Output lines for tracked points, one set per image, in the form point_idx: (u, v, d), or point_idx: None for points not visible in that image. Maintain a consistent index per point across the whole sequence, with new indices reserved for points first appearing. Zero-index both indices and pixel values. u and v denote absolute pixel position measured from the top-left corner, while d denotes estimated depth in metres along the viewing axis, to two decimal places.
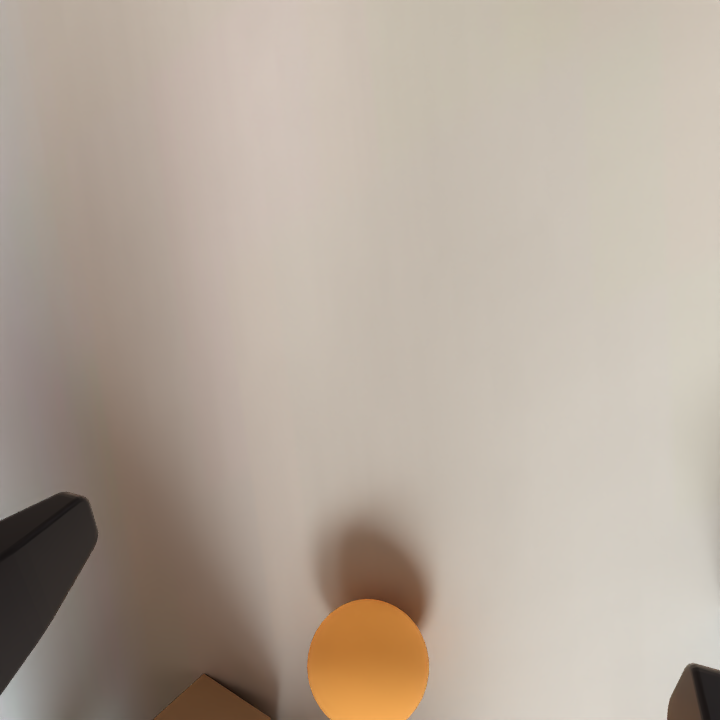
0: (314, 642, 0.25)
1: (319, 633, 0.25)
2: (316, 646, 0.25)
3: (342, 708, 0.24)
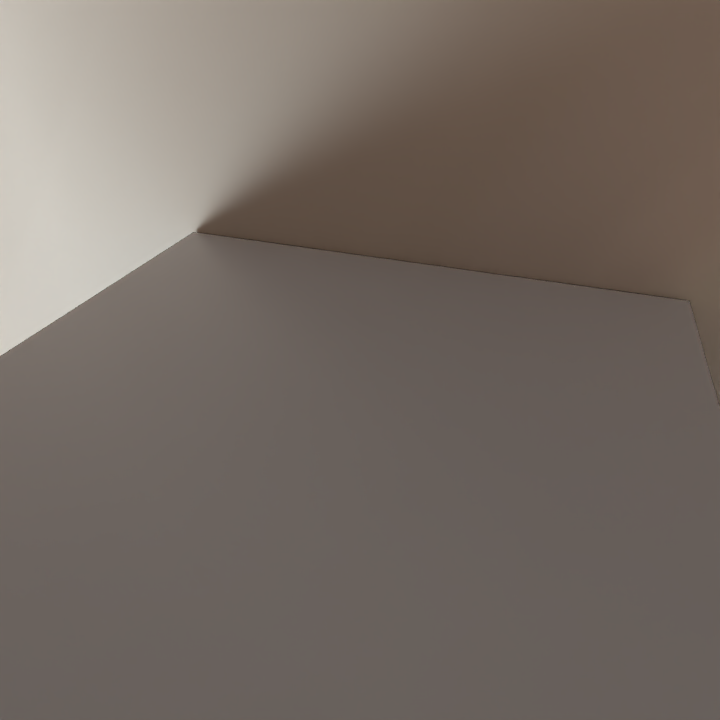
0: None
1: None
2: None
3: None
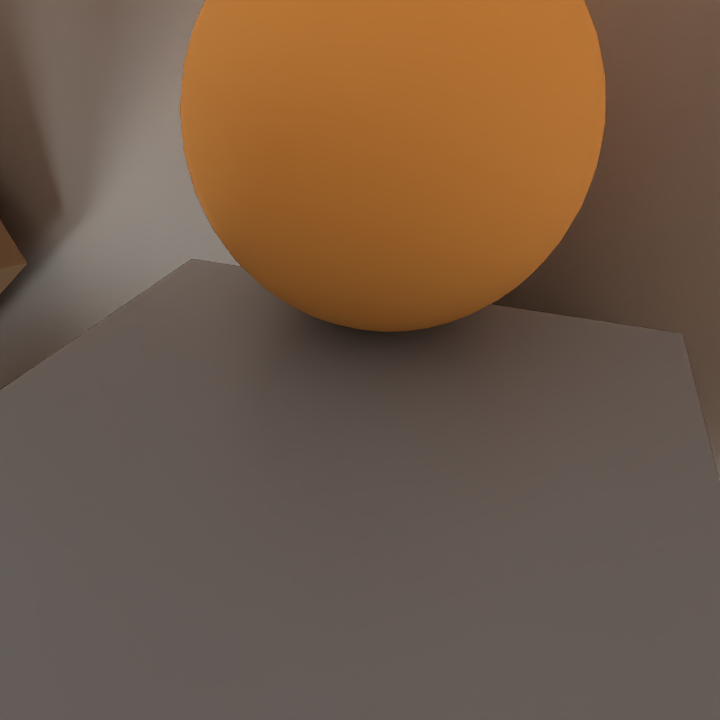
0: None
1: None
2: None
3: None
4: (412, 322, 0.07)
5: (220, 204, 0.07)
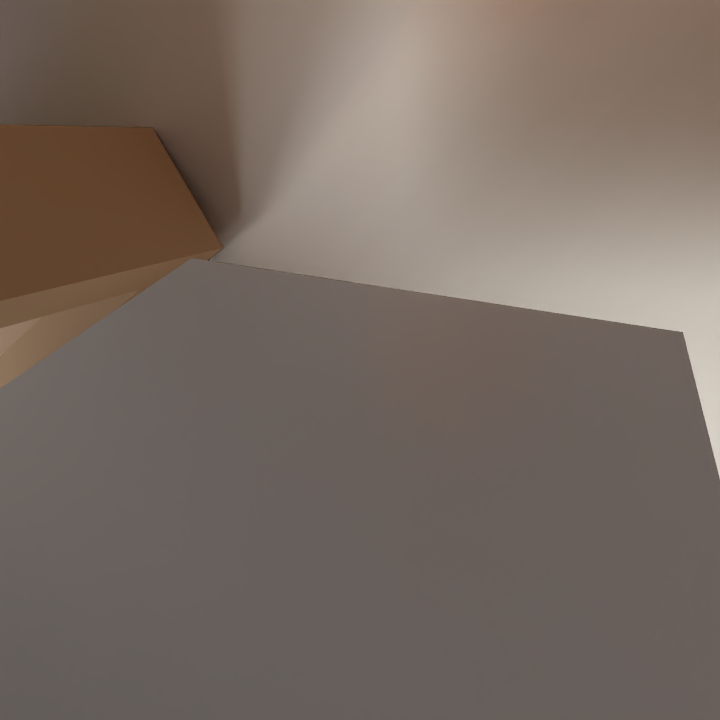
0: None
1: None
2: None
3: None
4: None
5: None
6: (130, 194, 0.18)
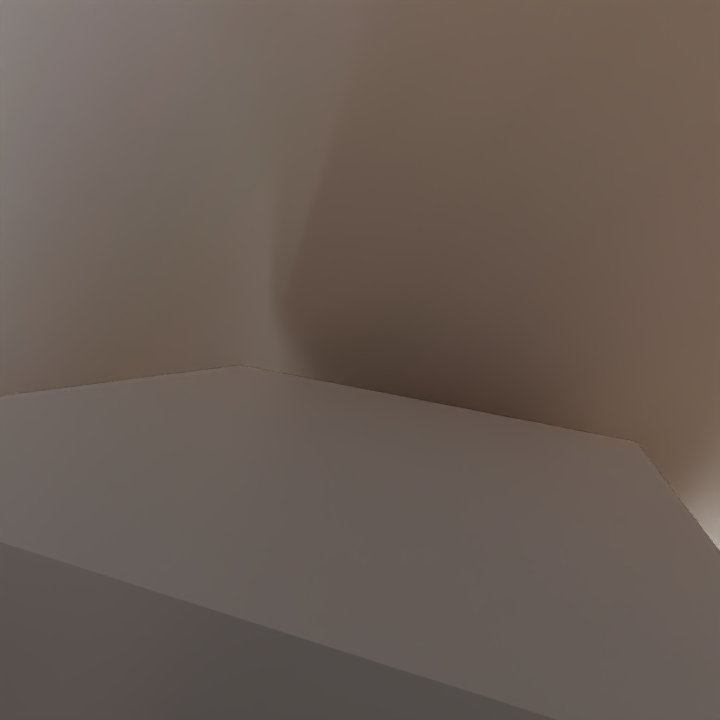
0: None
1: None
2: None
3: None
4: None
5: None
6: None
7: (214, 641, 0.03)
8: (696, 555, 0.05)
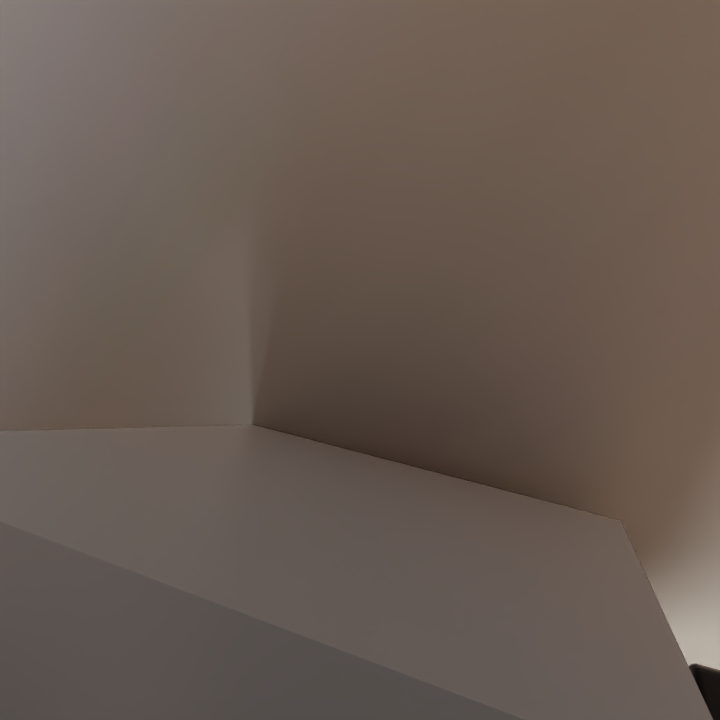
0: None
1: None
2: None
3: None
4: None
5: None
6: None
7: (193, 622, 0.04)
8: (637, 609, 0.06)
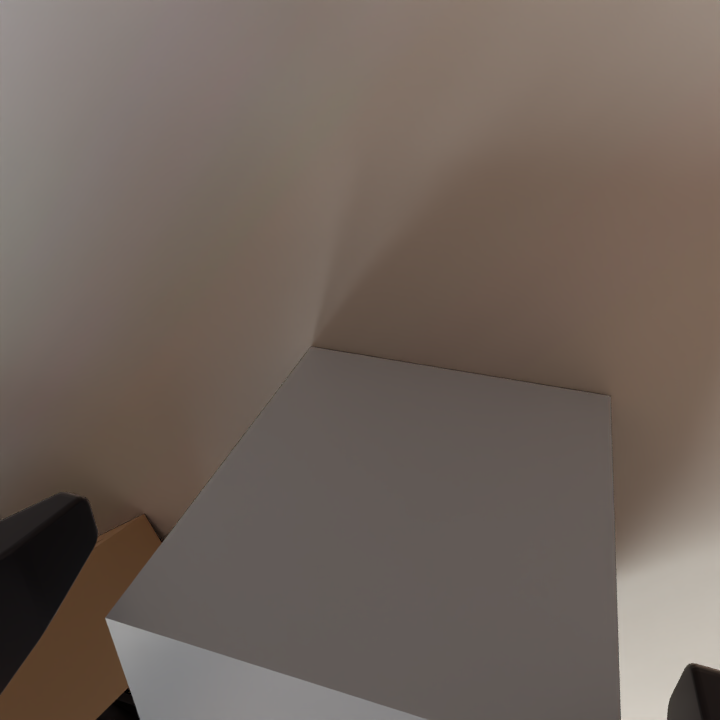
0: None
1: None
2: None
3: None
4: None
5: None
6: None
7: (378, 710, 0.09)
8: (600, 585, 0.10)
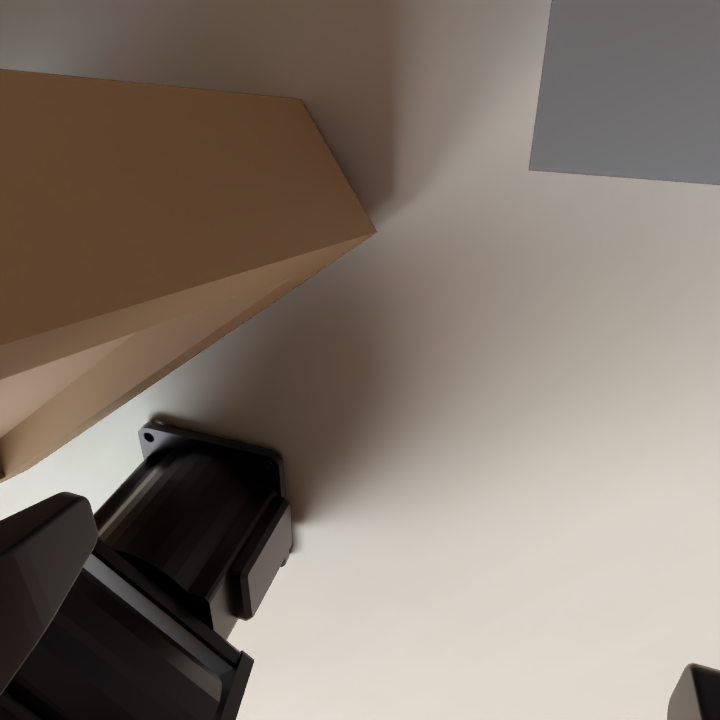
0: None
1: None
2: None
3: None
4: None
5: None
6: (294, 170, 0.16)
7: None
8: None
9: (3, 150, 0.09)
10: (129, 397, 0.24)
